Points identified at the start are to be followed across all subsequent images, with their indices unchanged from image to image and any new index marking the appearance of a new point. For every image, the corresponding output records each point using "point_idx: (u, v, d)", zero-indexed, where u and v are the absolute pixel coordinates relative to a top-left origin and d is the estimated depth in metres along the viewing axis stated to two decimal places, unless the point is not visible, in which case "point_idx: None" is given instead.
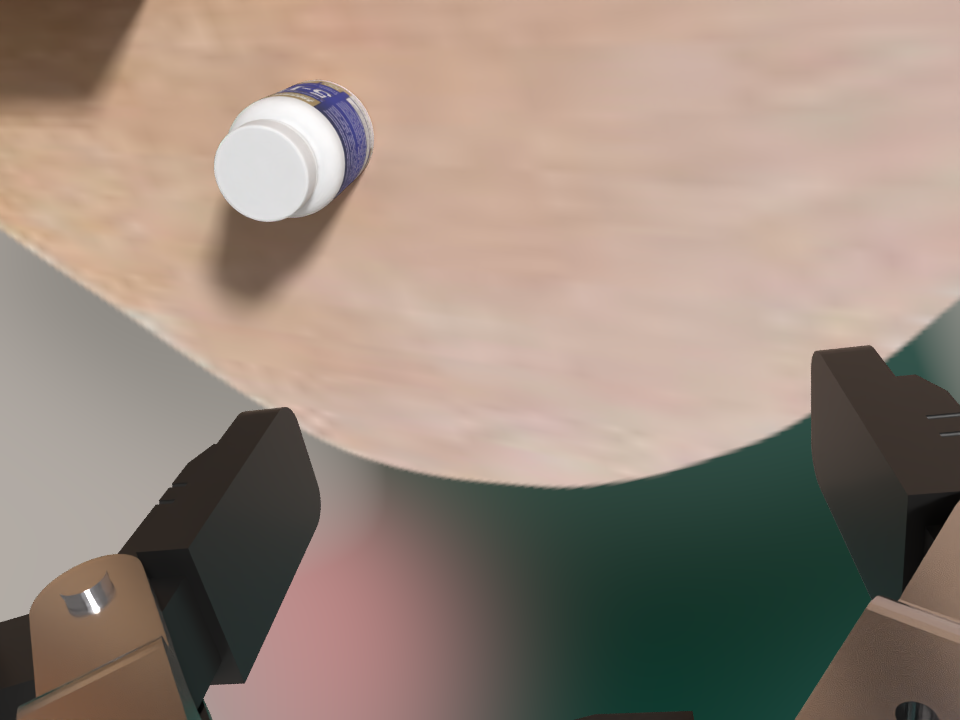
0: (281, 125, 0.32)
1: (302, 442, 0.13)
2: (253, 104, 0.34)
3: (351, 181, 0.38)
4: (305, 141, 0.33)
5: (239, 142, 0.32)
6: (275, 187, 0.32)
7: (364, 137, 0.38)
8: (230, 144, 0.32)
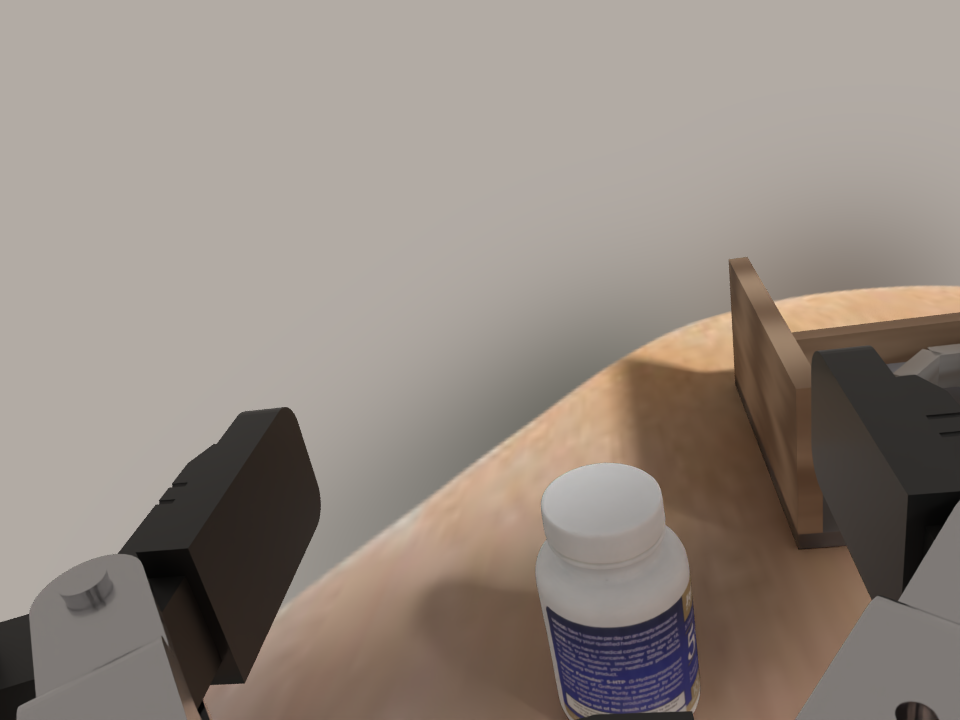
0: (661, 527, 0.25)
1: (302, 442, 0.13)
2: (675, 535, 0.28)
3: (574, 679, 0.27)
4: (642, 554, 0.25)
5: (638, 479, 0.27)
6: (585, 508, 0.26)
7: (634, 705, 0.27)
8: (634, 473, 0.27)
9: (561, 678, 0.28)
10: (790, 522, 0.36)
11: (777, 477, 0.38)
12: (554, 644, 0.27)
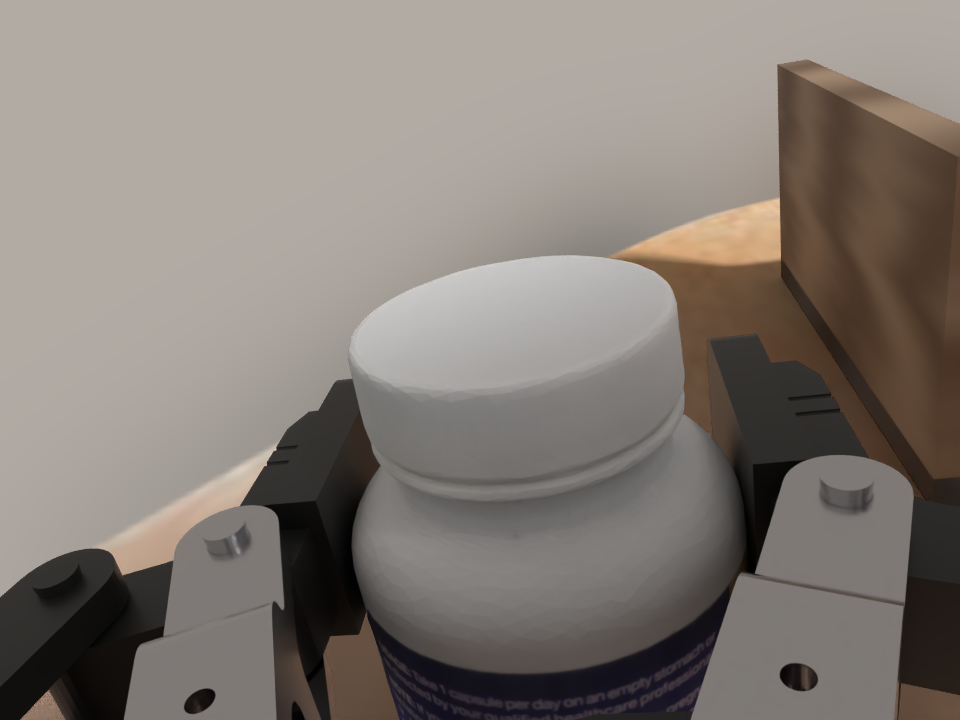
0: (674, 387, 0.09)
1: None
2: None
3: None
4: (619, 459, 0.08)
5: (613, 276, 0.10)
6: (461, 335, 0.09)
7: None
8: (605, 266, 0.10)
9: None
10: (909, 461, 0.19)
11: (876, 386, 0.21)
12: (396, 707, 0.11)
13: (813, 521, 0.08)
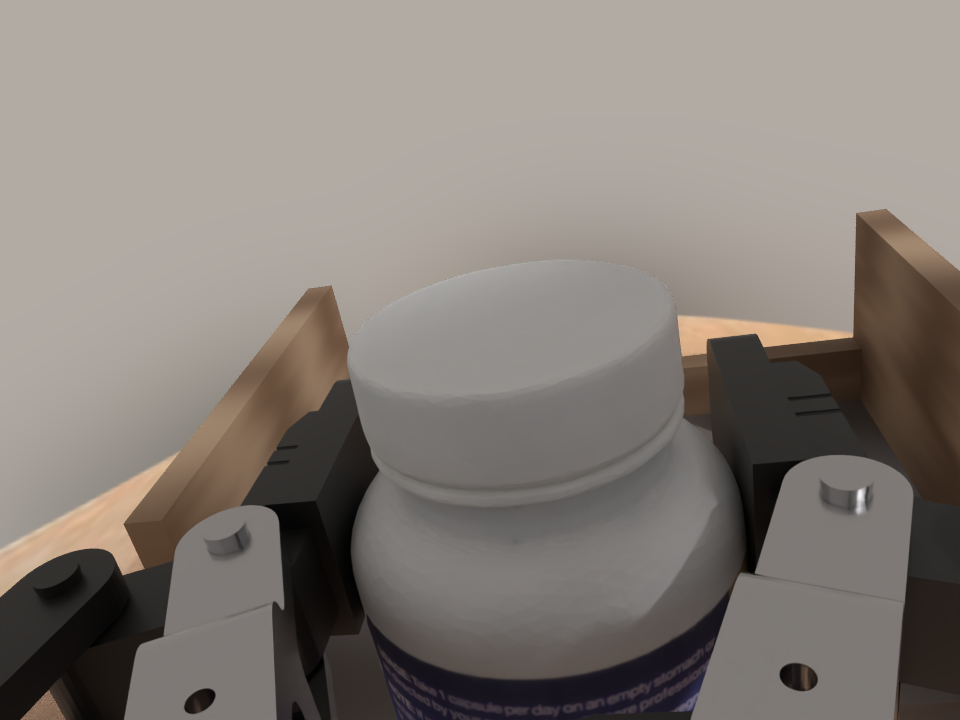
0: (674, 392, 0.09)
1: None
2: None
3: None
4: (618, 464, 0.08)
5: (612, 280, 0.10)
6: (461, 340, 0.09)
7: None
8: (604, 271, 0.10)
9: None
10: None
11: None
12: (395, 712, 0.11)
13: (813, 521, 0.08)
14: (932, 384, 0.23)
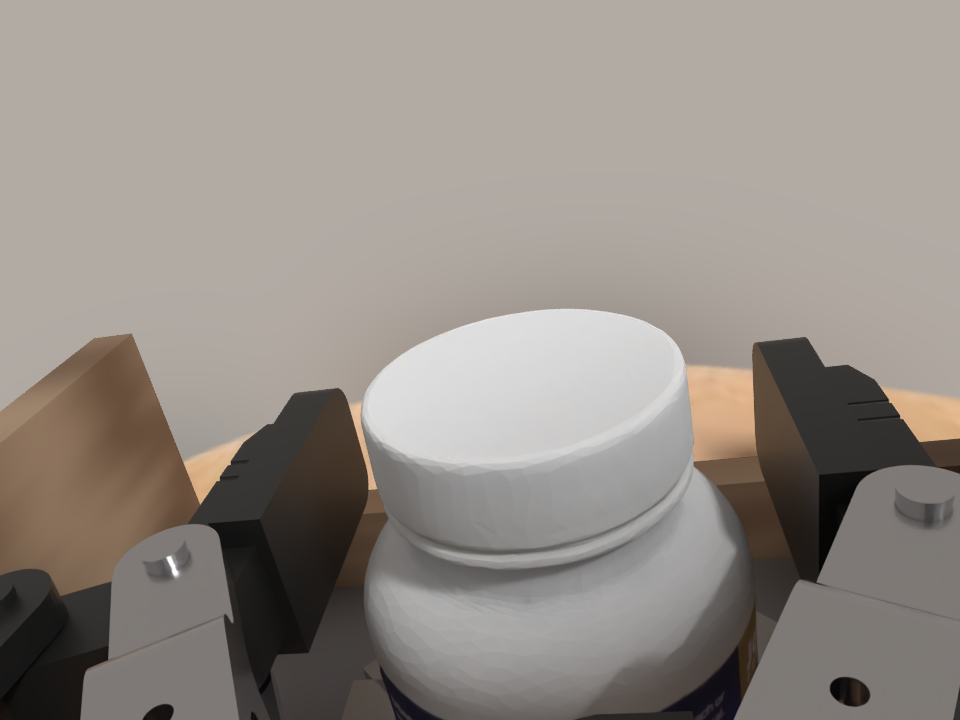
0: (684, 452, 0.09)
1: (352, 423, 0.13)
2: None
3: None
4: (630, 527, 0.09)
5: (622, 335, 0.10)
6: (473, 400, 0.09)
7: None
8: (614, 324, 0.10)
9: None
10: None
11: None
12: None
13: (884, 532, 0.07)
14: None
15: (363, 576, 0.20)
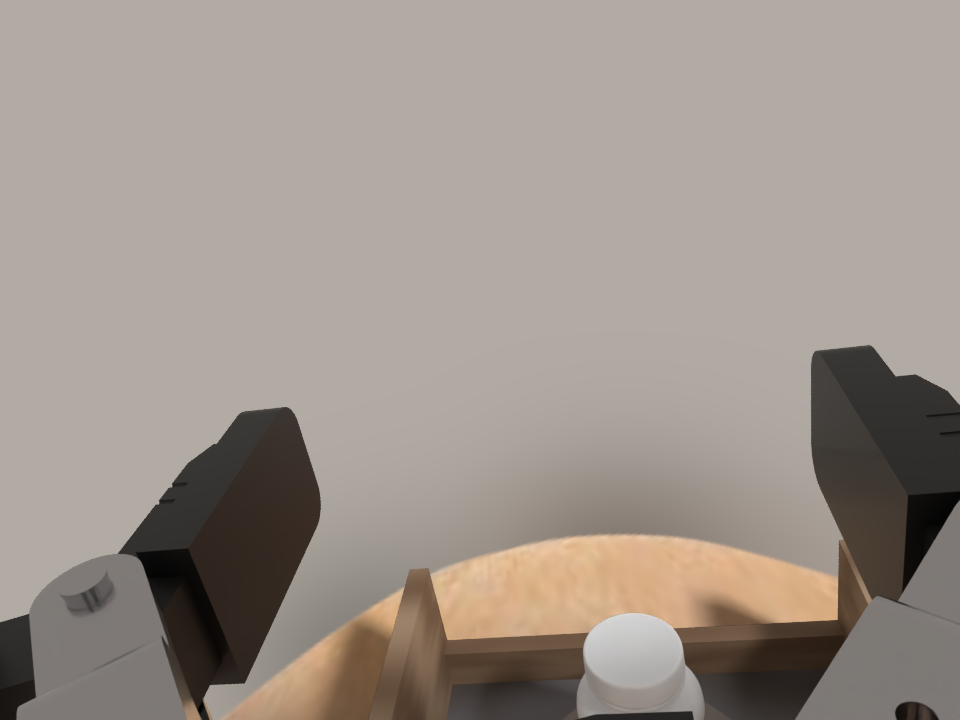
0: (682, 676, 0.31)
1: (302, 442, 0.13)
2: None
3: None
4: (667, 701, 0.31)
5: (663, 632, 0.32)
6: (620, 659, 0.31)
7: None
8: (660, 626, 0.33)
9: None
10: None
11: None
12: None
13: None
14: None
15: (530, 677, 0.42)
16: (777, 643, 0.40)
